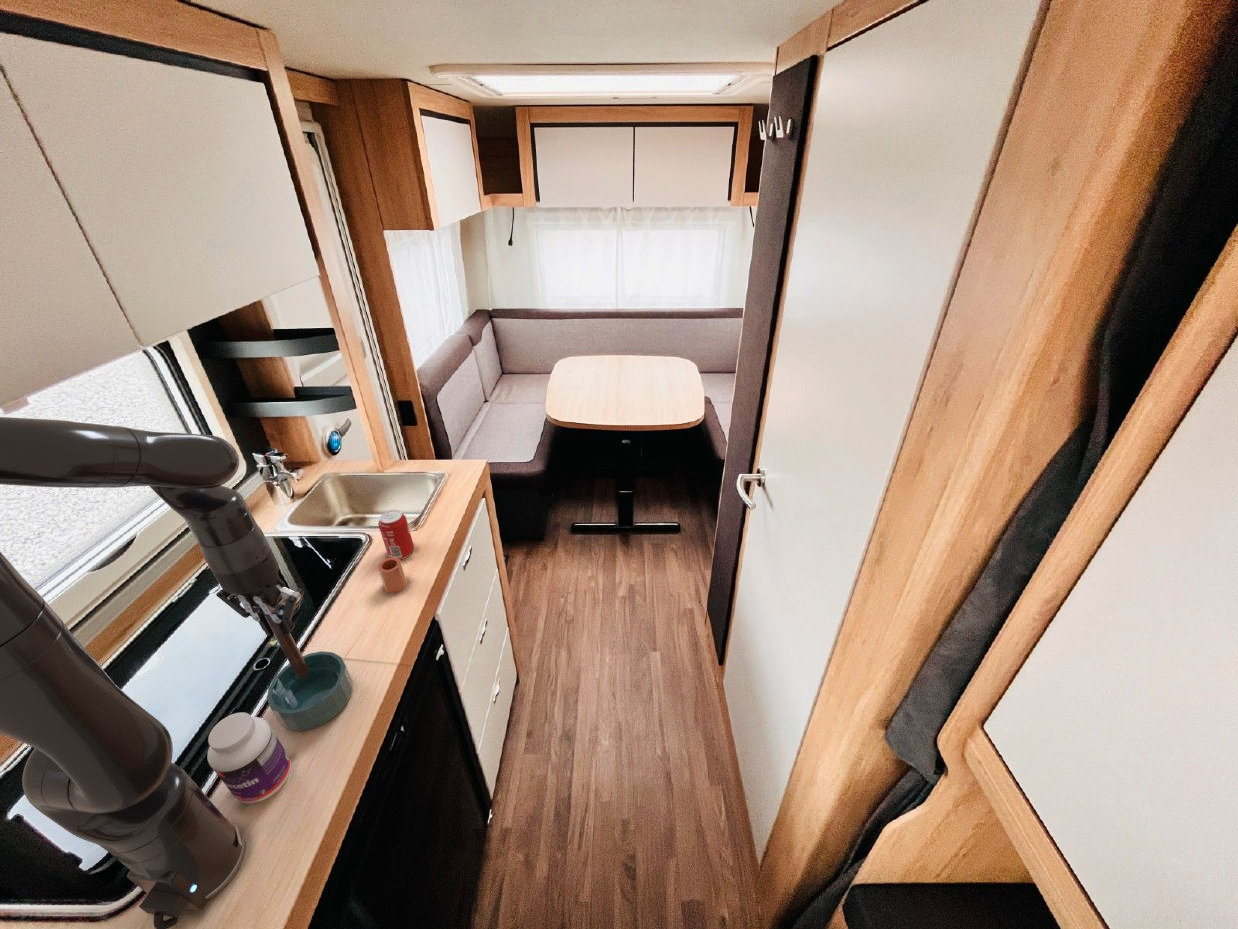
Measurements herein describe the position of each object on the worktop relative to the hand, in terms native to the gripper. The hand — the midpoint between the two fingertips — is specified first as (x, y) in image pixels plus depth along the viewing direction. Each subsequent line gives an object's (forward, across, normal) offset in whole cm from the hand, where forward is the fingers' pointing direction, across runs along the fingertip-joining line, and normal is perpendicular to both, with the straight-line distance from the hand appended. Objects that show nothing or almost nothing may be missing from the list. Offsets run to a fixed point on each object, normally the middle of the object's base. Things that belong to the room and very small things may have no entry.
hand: (281, 631), depth 84 cm
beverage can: (+20, -3, +40) cm, 45 cm away
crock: (+19, +1, +29) cm, 35 cm away
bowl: (+19, 0, 0) cm, 19 cm away
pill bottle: (+19, 0, -14) cm, 24 cm away
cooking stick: (+11, 0, 0) cm, 11 cm away
